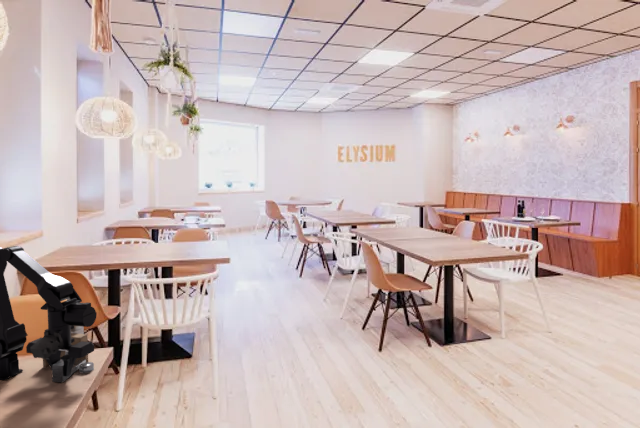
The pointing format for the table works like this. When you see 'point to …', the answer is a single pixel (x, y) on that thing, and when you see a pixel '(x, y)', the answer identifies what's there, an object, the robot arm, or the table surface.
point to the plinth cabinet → (77, 339)
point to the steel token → (86, 367)
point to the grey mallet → (58, 370)
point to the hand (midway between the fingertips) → (61, 375)
